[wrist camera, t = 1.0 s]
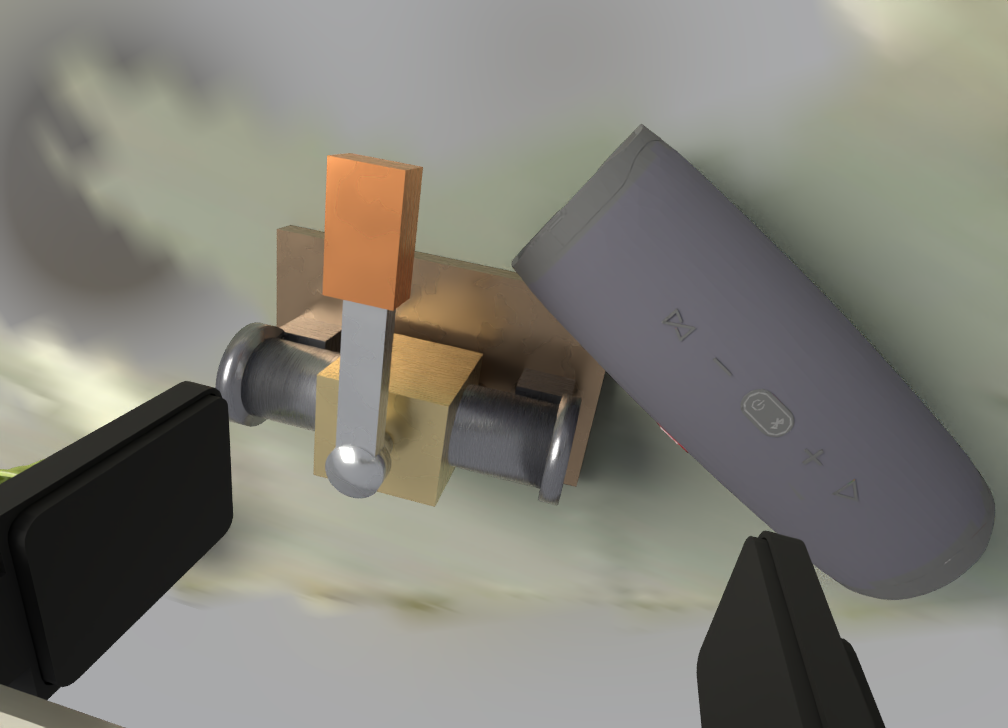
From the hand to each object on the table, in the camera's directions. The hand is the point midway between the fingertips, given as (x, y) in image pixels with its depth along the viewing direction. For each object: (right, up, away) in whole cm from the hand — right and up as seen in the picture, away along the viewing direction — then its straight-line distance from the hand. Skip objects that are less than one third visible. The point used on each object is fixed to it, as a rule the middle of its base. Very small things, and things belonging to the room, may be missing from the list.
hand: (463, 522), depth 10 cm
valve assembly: (-3, +3, +26) cm, 27 cm away
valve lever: (-5, +4, +14) cm, 15 cm away
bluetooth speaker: (+13, +4, +22) cm, 26 cm away
